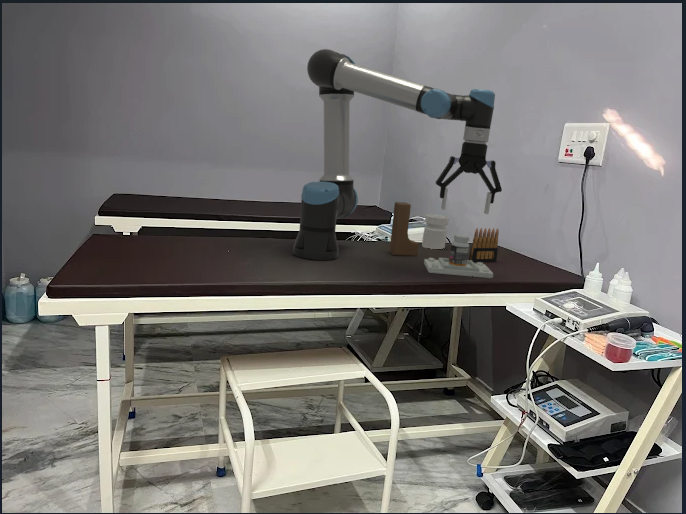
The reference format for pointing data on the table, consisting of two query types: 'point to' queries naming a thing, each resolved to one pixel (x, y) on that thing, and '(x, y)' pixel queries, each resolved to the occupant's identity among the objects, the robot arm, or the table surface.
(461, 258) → the pill bottle
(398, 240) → the wooden block
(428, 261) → the base plate
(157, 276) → the table surface
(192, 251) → the table surface
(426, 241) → the white lidded jar
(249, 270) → the table surface
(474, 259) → the ammunition clip
